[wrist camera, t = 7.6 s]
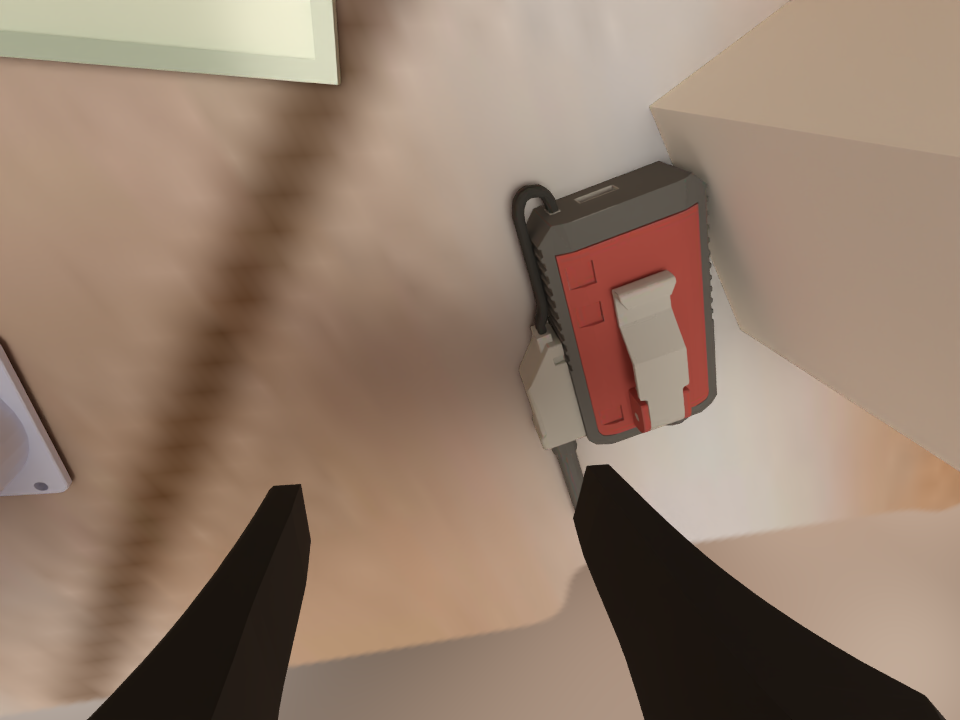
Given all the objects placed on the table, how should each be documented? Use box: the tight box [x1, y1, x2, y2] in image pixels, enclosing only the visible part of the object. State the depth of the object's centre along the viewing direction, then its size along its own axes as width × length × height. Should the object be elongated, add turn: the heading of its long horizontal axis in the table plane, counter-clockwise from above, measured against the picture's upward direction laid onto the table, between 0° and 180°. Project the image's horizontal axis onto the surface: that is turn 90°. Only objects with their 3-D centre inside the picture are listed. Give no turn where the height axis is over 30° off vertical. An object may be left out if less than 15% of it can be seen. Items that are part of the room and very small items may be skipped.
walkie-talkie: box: [512, 161, 717, 509], centre depth 22 cm, size 9×4×20 cm
